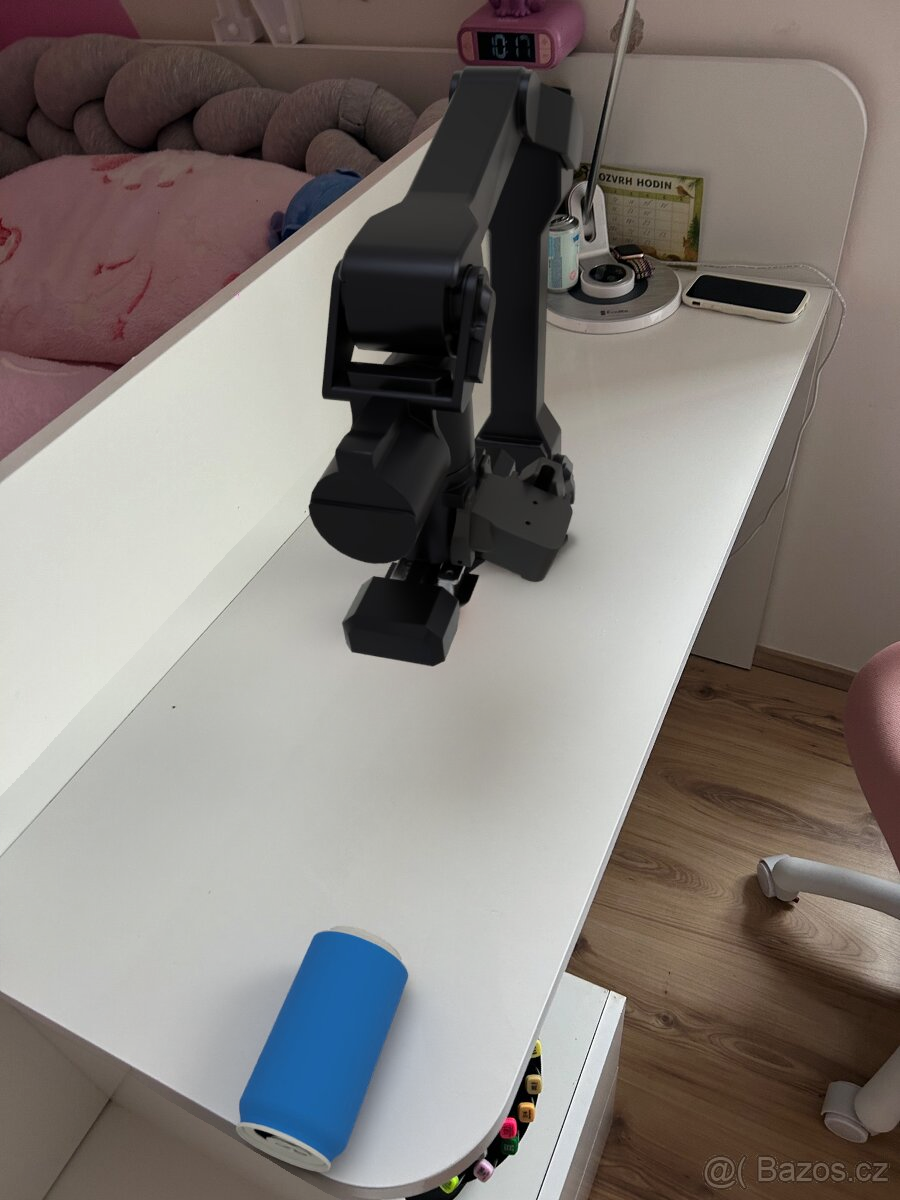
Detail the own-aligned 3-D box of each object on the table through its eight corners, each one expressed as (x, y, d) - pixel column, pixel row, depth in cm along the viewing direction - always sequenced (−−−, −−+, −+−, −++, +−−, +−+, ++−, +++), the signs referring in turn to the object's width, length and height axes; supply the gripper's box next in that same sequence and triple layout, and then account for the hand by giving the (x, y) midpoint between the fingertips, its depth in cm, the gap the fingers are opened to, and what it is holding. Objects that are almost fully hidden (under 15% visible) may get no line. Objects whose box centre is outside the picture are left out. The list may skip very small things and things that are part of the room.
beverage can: (317, 907, 57) (224, 1111, 49) (416, 944, 56) (338, 1159, 48) (317, 948, 61) (232, 1141, 53) (408, 983, 61) (335, 1184, 53)
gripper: (524, 575, 46) (527, 760, 57) (590, 381, 59) (583, 563, 70) (319, 545, 49) (360, 727, 60) (425, 366, 62) (442, 543, 73)
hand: (446, 633), depth 66 cm, fingers closed
